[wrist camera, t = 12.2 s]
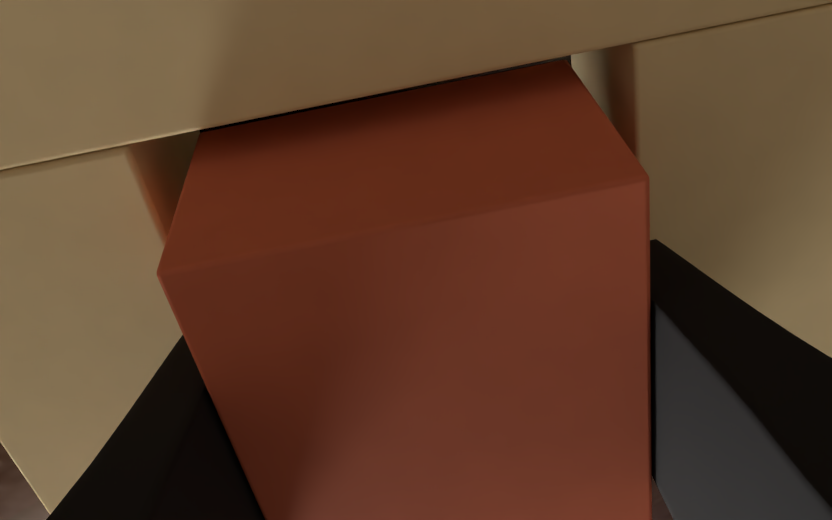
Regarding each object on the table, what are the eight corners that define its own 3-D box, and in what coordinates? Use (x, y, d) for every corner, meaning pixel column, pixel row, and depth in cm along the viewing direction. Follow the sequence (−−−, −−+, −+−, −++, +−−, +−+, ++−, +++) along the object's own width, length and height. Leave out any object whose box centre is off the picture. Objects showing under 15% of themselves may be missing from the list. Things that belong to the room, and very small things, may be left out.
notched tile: (764, 297, 15) (854, 415, 12) (121, 422, 15) (80, 563, 12) (856, -668, 8) (1104, -852, 5) (-332, -409, 8) (-626, -465, 6)
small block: (589, 388, 13) (653, 551, 10) (310, 442, 13) (306, 617, 10) (566, 57, 9) (651, 175, 7) (198, 131, 10) (153, 273, 7)
